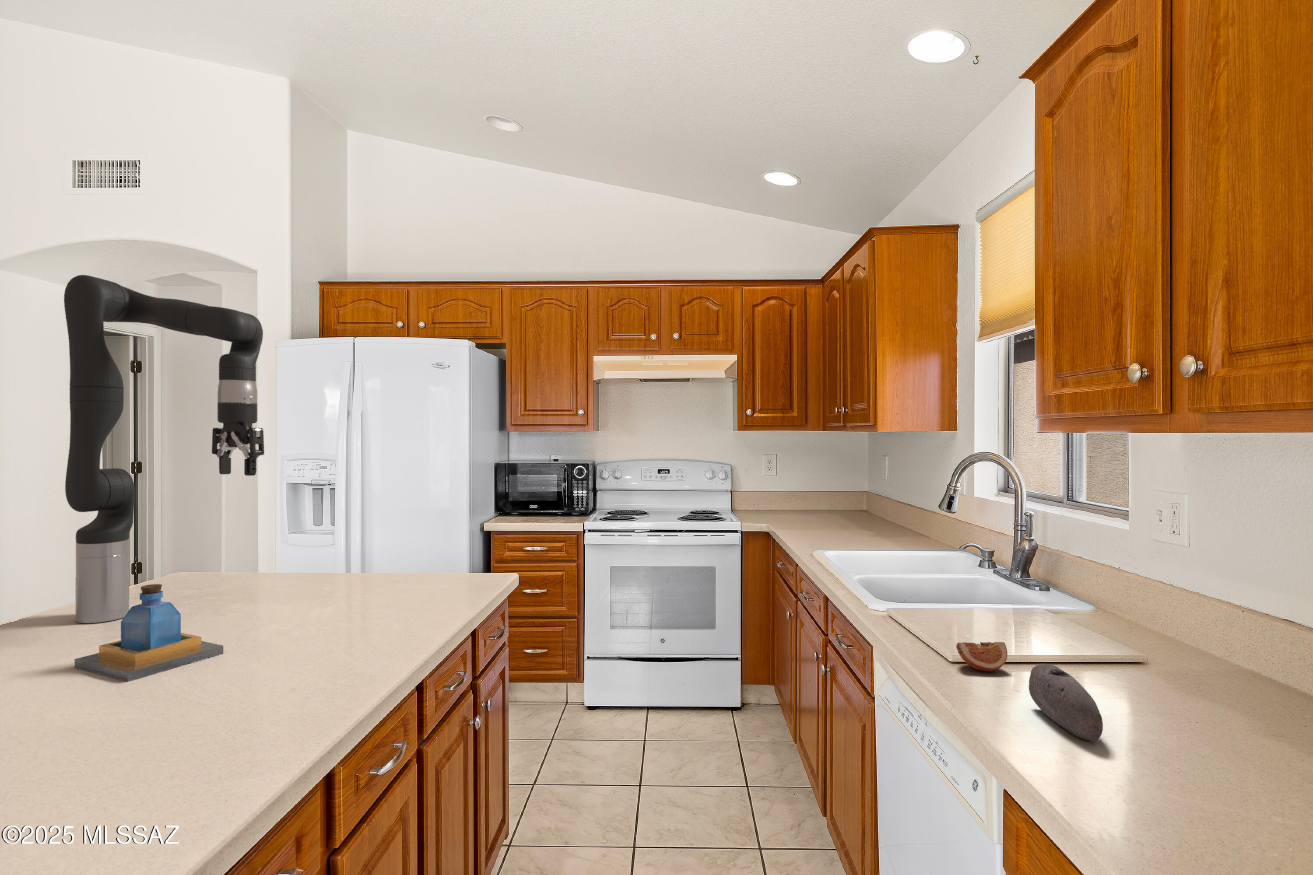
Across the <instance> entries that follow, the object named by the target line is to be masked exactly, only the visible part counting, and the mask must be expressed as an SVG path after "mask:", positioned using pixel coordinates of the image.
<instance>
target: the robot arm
mask: <svg viewBox="0 0 1313 875" xmlns="http://www.w3.org/2000/svg"><path fill="white" fill-rule="evenodd" d="M63 304H64V305H63V306H64V307H63V308H64V313H65V321H66V327H67V335H68V337H67V338H68V347H69V348H68V350H69V354H68V355H69V411H70V414H69V415H70V416H69V417H70V420H69V422H70V425H69V426H70V428H69V448H68V455H67V456H68V458H67V466H66V472H65V473H66V474H65V483H64V486H65V487H64V491H65V493H64V494H65V498H66V501H67V503H68V505H69V507H70V508H71V509H72V510H74V511H75V512H79V513H89V512H97V515H96V517H95V518H94V519H93V520H92V521H91V522H89V523H88V524H86V525H83V526H82V527H80V528H79V529H78V530H76V533H75V622H77V623H79V624H95V623H105V622H111V621H115V620H120V619H123V618H124V617H125V615H126V614H127V613H128V611H129V610H130V532H131V530H132V527H133V526H134V525H133V524H134V516H135V515H134V514H135V513H134V512H135V499H136V498H135V497H136V496H135V495H136V492H135V491H136V489H135V488H136V487H135V483H134V480H133V477H132V475H131V474H130V473H129V472H128V471H127V470H125V469H124V468H115V467H114V468H101V454H102V448H103V445H104V444H105V441H106V439H107V438H108V436H109V435H110V433H111V432H112V431H113V429H114V427H116V424H117V423H118V421H119V420H120V418H121V416H122V414H123V411H124V404H125V403H124V402H125V401H124V399H125V398H124V396H125V395H124V391H125V390H124V388H125V387H124V379H123V376H122V374H121V371H120V369H119V367H118V365H117V363H116V362H115V360H114V358H113V357H112V354H111V353H110V351H109V349H108V347H107V343H106V340H105V330H104V328H105V327H104V326H105V325H104V323H135V324H137V323H140V324H148V325H153V326H156V327H161V328H164V329H167V330H170V331H171V330H172V331H174V332H179V333H184V334H188V335H194V336H201V337H208V338H212V339H217V340H221V341H225V342H229V343H230V349H229V352H228V353H226V354H225V353H224V354H222V355H221V356H220V357H219V360H218V385H217V402H216V403H217V409H216V410H217V413H216V414H217V422H218V423H221V424H222V427H213V428H212V436H211V440H212V441H211V454H212V455H216V457H217V458H218V470H219V472H218V473H219V474H220V475H230V474H232V457H231V456H232V455H233V454H232V453H233V452H234V451H235V450H237V449H238V450H239V451H241V452H242V454H243V456H244V465H243V466H244V471H243V472H244V476H246V477H248V476H249V477H251V476H256V475H257V459H258V458H259V457H260V456H264V455H265V439H264V438H265V436H264V428H262V427H253V424H256V423H257V422H258V388H257V361H258V358H259V354H260V351H261V347H262V345H263V344H262V343H263V338H264V330H263V326H262V323H261V322H260V320H259V319H258V318H257V317H256V316H255V315H253V314H250V313H247V312H244V311H239V310H237V309H232V308H226V307H222V306H221V307H220V306H212V305H211V306H210V305H207V304H203V303H199V302H193V301H189V300H184V299H177V298H166V297H165V298H163V297H157V296H156V297H155V296H152V295H151V296H150V295H147V294H144V293H142V292H138V291H136V290H134V289H131V288H128V287H126V286H124V285H121V284H119V283H117V282H114V281H111V280H107V279H103V278H100V277H96V276H91V275H87V274H79V275H76V276H74V277H73V278H71V279H70V280H68V282H67V284H66V286H65V289H64V294H63ZM218 447H219V448H218ZM257 448H258V449H257Z"/></svg>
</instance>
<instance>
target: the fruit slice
mask: <svg viewBox="0 0 1313 875" xmlns="http://www.w3.org/2000/svg"><path fill="white" fill-rule="evenodd" d="M955 648H956V649H957V653H958V655H959V656H960V658H961V659H962V661H964V663H966V664H967V665H968V666H969V667H971V668H973V669H975V670H977V671H981V672H984V673H985V672H986V673H988V672H989V673H990V672H994V671H998V670H999V669H1000V668H1002V667H1003V666H1004V665H1005V664H1006V661H1007V660H1008V649H1007V644H1006V643H1005V642H1004V641H994V642H991V641H987V642H982V641H980V642H979V643H975V642H966V641H963V642H957V643H956V646H955Z"/></svg>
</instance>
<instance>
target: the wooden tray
mask: <svg viewBox="0 0 1313 875" xmlns="http://www.w3.org/2000/svg"><path fill="white" fill-rule="evenodd" d="M219 654H220V655H223V654H224V645H222V644H217V643H215V642H214V643H213V642H207V641H203V640H202V636H200V635H195V634H189V633H186V632H185V633H184V632H181V641H177V642H174V643H170V644H166V645H162V646H158V647H154V648H151V649H147V650H143V651H139V652H138V651H133V650H129V649H125V648H121V639H120V640H116V641H113V642H109V643H104V644H100V645H98V652H97V653H93V654H88V655H84V656H81V657H77V658H74V668H75V669H79V670H82V671H85V672H89V673H94V674H97V675H101V676H105V677H108V678H113V679H116V680H120V681H123V682H128V683H129V682H131V681H135V680H138V679H141V678H144V677H148V675H149V676H152V675H154V674H158V672H159V673H162V672H165V670H166V671H168V669H169V670H172V669H175V667H176V668H179V667H181V666H180V665H183V664H186V665H189V664H191V663H190V662H193V663H195V662H194V661H196V662H199V661H198V660H200V661H202V659H203V660H206V659H205V658H207V659H209V658H208V657H210V658H212V657H216V656H220V655H219ZM188 663H189V664H188ZM178 666H179V667H178ZM183 666H184V665H183ZM171 668H172V669H171ZM161 671H162V672H161Z"/></svg>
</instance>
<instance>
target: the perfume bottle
mask: <svg viewBox="0 0 1313 875" xmlns="http://www.w3.org/2000/svg"><path fill="white" fill-rule="evenodd" d="M162 587H163V584H161V583H154V584H153V583H152V584H145V585H142V586H140V590H141V592H140V593H139V601H141V603H139V604H136V605H133V606H131V607H129V611H128V613H127V614H126V615H125V617H124V618H121V619H122V620H121V621H120V640H121V648H125V649H129V650H133V651H138V652H139V651H143V650H147V649H151V648H154V647H158V646H162V645H166V644H170V643H174V642H177V641H181V633H182V629H181V628H182V615H181V614H182V613H180V612H179V610H178V609H177V608H176V607H175V605H174V604H172V602H171V601H162V598H164V591H163V590H162Z"/></svg>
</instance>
